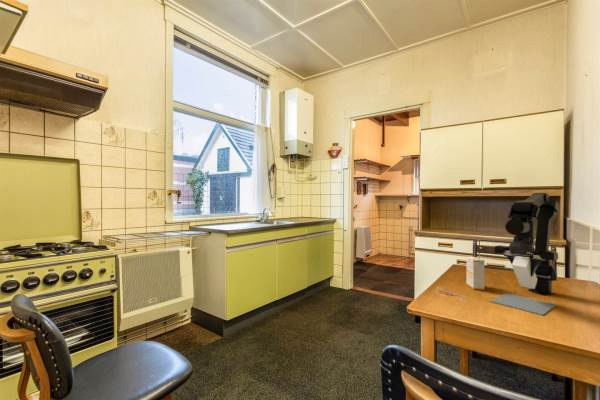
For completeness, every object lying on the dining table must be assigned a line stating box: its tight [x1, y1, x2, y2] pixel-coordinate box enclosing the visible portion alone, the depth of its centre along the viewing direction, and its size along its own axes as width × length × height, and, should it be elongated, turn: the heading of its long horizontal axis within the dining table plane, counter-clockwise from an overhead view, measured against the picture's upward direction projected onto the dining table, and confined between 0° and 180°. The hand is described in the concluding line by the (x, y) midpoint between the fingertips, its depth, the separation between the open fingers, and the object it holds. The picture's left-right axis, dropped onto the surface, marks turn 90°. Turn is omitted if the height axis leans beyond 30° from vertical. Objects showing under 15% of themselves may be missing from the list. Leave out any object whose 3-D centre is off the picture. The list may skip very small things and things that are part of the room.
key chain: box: [437, 290, 467, 303], centre depth 117 cm, size 13×7×1 cm, turn 37°
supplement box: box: [466, 256, 486, 291], centre depth 128 cm, size 8×5×13 cm, turn 168°
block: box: [511, 255, 537, 289], centre depth 109 cm, size 4×4×13 cm
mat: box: [489, 292, 557, 316], centre depth 108 cm, size 16×16×1 cm
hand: (523, 274), depth 108 cm, fingers closed on block, 4 cm apart
